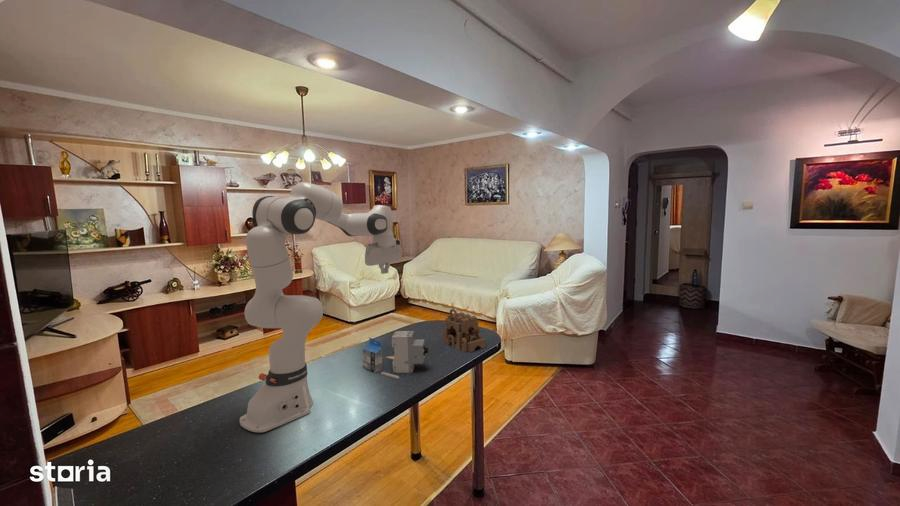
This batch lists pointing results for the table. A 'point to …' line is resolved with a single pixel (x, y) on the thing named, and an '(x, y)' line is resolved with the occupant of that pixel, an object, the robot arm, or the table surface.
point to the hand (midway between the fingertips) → (384, 273)
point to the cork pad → (391, 357)
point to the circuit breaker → (407, 351)
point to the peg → (390, 375)
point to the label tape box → (373, 356)
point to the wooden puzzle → (462, 332)
